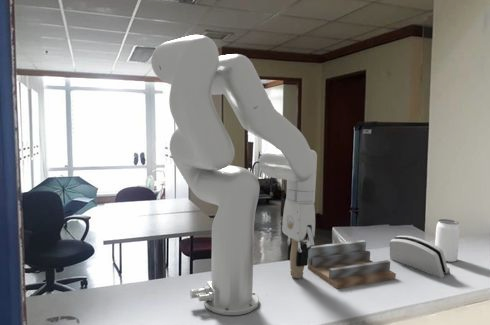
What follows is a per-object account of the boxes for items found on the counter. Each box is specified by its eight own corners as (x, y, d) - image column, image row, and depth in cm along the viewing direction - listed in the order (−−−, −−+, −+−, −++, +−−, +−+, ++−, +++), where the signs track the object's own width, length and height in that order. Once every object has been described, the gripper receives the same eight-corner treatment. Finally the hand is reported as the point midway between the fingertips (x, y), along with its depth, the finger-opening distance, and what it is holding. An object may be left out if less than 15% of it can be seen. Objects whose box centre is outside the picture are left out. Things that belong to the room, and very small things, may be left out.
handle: (311, 279, 102) (314, 224, 101) (288, 280, 101) (290, 224, 100) (304, 272, 107) (307, 219, 106) (282, 273, 106) (285, 220, 104)
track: (336, 288, 97) (337, 264, 97) (307, 268, 110) (308, 246, 109) (395, 278, 104) (397, 255, 104) (361, 260, 117) (363, 240, 117)
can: (461, 262, 117) (464, 224, 116) (439, 262, 118) (443, 224, 116) (450, 255, 124) (453, 219, 123) (430, 254, 124) (433, 218, 123)
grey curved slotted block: (451, 274, 109) (447, 243, 106) (442, 282, 106) (438, 252, 104) (399, 255, 123) (394, 228, 120) (390, 263, 120) (385, 235, 117)
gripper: (273, 190, 108) (271, 253, 110) (304, 202, 93) (300, 276, 95) (297, 189, 111) (294, 251, 113) (330, 201, 96) (326, 272, 97)
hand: (297, 261), depth 104 cm, fingers closed on handle, 3 cm apart
